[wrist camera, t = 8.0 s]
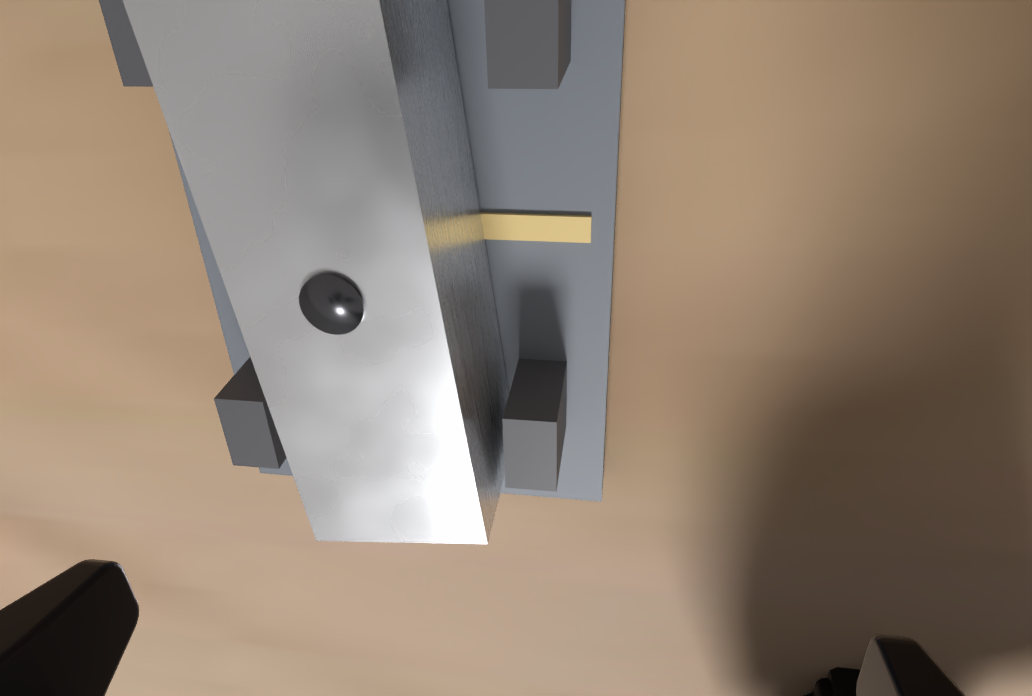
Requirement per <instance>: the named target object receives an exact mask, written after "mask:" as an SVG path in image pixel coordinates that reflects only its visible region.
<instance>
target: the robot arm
mask: <svg viewBox="0 0 1032 696" xmlns="http://www.w3.org/2000/svg"><path fill="white" fill-rule="evenodd" d="M138 617H139V605H138V602H137V599H136V597H135V595H134V593H133V590H132V588H131V586H130V583H129V581H128V579H127V577H126V574H125V572H124V570H123V568H122V566H121V565H120V564H118V563H117V562H114V561H105V560H95V559H89V560H84V561H81V562H80V563H78V564H76V565H74V566H73V567H71V568H69V569H68V570H66V571H64V572H63V573H61V574H59V575H58V576H56V577H54V578H53V579H51V580H49V581H48V582H46V583H44V584H43V585H41V586H39V587H38V588H36V589H34V590H33V591H31V592H29V593H28V594H26V595H24V596H23V597H21V598H19V599H18V600H16V601H14V602H13V603H11V604H9V605H8V606H6V607H5V608H3V609H1V610H0V696H105V694H106V691H107V689H108V687H109V685H110V682H111V680H112V678H113V676H114V674H115V671H116V669H117V667H118V665H119V662H120V660H121V658H122V656H123V654H124V651H125V649H126V647H127V645H128V642H129V640H130V638H131V636H132V634H133V631H134V629H135V627H136V624H137V621H138ZM805 696H965V695H964V693H963V692H962V691H961V690H960V689H959V688H958V687H957V686H956V684H955V683H954V682H953V681H952V680H951V679H950V678H949V677H948V675H947V674H946V673H945V672H944V671H943V670H942V669H941V668H940V666H939V665H938V664H937V663H936V662H935V661H934V660H933V659H932V657H931V656H930V655H929V654H928V653H927V652H926V651H925V650H924V648H923V647H922V646H921V645H920V644H919V643H918V642H916V641H915V640H913V639H911V638H908V637H900V636H889V635H875V636H873V637H872V638H871V640H870V641H869V644H868V647H867V650H866V654H865V657H864V660H863V664H862V667H861V670H858V669H849V668H840V667H837V668H835V669H832V670H830V672H829V675H828V678H822V679H819V680H818V681H817V682H816V684H815V688H814V690H813V692H812V693H810V694H807V695H805Z"/></svg>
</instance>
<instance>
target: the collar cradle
mask: <svg viewBox="0 0 1032 696" xmlns="http://www.w3.org/2000/svg"><path fill="white" fill-rule="evenodd" d="M99 2H100V6H101V9H102V13H103V16H104V20H105V23H106V27H107V30H108V34H109V37H110V41H111V44H112V47H113V51H114V54H115V58H116V61H117V65H118V68H119V72H120V75H121V79H122V82H123V85H124V86H151V87H153V84H152V81H151V78H150V76H149V73H148V70H147V67H146V64H145V62H144V59H143V56H142V53H141V51H140V48H139V45H138V42H137V39H136V37H135V34H134V31H133V28H132V25H131V23H130V20H129V17H128V14H127V11H126V9H125V6H124V3H123V0H99ZM447 3H448V9H449V16H450V22H451V28H452V35H453V41H454V47H455V54H456V60H457V67H458V73H459V79H460V86H461V92H462V98H463V105H464V111H465V117H466V124H467V130H468V136H469V143H470V149H471V156H472V162H473V168H474V175H475V181H476V187H477V194H478V200H479V206H480V213H481V219H482V225H483V232H484V238H485V245H486V251H487V257H488V264H489V270H490V276H491V283H492V289H493V295H494V302H495V308H496V314H497V321H498V327H499V334H500V340H501V346H502V353H503V359H504V365H505V372H506V378H507V384H508V391H509V396H508V400H507V403H506V407H505V411H504V414H503V418H502V422H503V446H504V469H505V475H504V479H503V483H502V487H501V491H500V493H506V494H518V495H530V496H542V497H554V498H566V499H578V500H590V501H602V488H603V472H604V451H605V430H606V408H607V387H608V366H609V344H610V323H611V302H612V280H613V259H614V238H615V216H616V195H617V173H618V152H619V131H620V109H621V88H622V67H623V45H624V24H625V3H626V0H447ZM169 132H170V131H169ZM170 136H171V134H170ZM171 139H172V137H171ZM172 143H173V147H174V151H175V154H176V158H177V162H178V166H179V169H180V173H181V177H182V181H183V185H184V188H185V192H186V196H187V200H188V203H189V207H190V211H191V215H192V218H193V222H194V226H195V230H196V233H197V237H198V241H199V245H200V248H201V252H202V256H203V260H204V263H205V267H206V271H207V275H208V278H209V282H210V286H211V290H212V293H213V297H214V301H215V305H216V308H217V312H218V316H219V320H220V323H221V327H222V331H223V335H224V338H225V342H226V346H227V350H228V353H229V357H230V361H231V365H232V368H233V372H234V376H233V377H232V378H231V380H230V381H229V382H228V383H227V384H226V385H225V387H224V388H223V389H222V390H221V391H220V392H219V394H218V395H217V396H216V397H215V398H214V400H215V404H216V407H217V411H218V414H219V418H220V421H221V424H222V428H223V431H224V435H225V438H226V442H227V445H228V449H229V452H230V456H231V459H232V462H233V465H238V466H250V467H259V470H260V473H267V474H279V475H291V476H293V474H292V471H291V469H290V466H289V463H288V460H287V457H286V455H285V452H284V449H283V446H282V443H281V441H280V438H279V435H278V432H277V429H276V427H275V424H274V421H273V418H272V416H271V413H270V410H269V407H268V404H267V402H266V399H265V396H264V393H263V390H262V388H261V385H260V382H259V379H258V377H257V374H256V371H255V368H254V365H253V363H252V360H251V357H250V354H249V351H248V349H247V346H246V343H245V340H244V338H243V335H242V332H241V329H240V326H239V324H238V321H237V318H236V315H235V312H234V310H233V307H232V304H231V301H230V299H229V296H228V293H227V290H226V287H225V285H224V282H223V279H222V276H221V273H220V271H219V268H218V265H217V262H216V260H215V257H214V254H213V251H212V248H211V246H210V243H209V240H208V237H207V234H206V232H205V229H204V226H203V223H202V220H201V218H200V215H199V212H198V209H197V207H196V204H195V201H194V198H193V195H192V193H191V190H190V187H189V184H188V181H187V179H186V176H185V173H184V170H183V168H182V165H181V162H180V159H179V156H178V154H177V151H176V148H175V145H174V142H173V140H172Z"/></svg>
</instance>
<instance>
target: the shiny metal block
mask: <svg viewBox="0 0 1032 696" xmlns="http://www.w3.org/2000/svg"><path fill="white" fill-rule="evenodd" d="M123 3H124V6H125V9H126V11H127V14H128V17H129V20H130V23H131V25H132V28H133V31H134V34H135V37H136V39H137V42H138V45H139V48H140V51H141V53H142V56H143V59H144V62H145V64H146V67H147V70H148V73H149V76H150V78H151V81H152V84H153V87H154V90H155V92H156V95H157V98H158V101H159V103H160V106H161V109H162V112H163V115H164V117H165V120H166V123H167V126H168V129H169V131H170V134H171V137H172V140H173V142H174V145H175V148H176V151H177V154H178V156H179V159H180V162H181V165H182V168H183V170H184V173H185V176H186V179H187V181H188V184H189V187H190V190H191V193H192V195H193V198H194V201H195V204H196V207H197V209H198V212H199V215H200V218H201V220H202V223H203V226H204V229H205V232H206V234H207V237H208V240H209V243H210V246H211V248H212V251H213V254H214V257H215V260H216V262H217V265H218V268H219V271H220V273H221V276H222V279H223V282H224V285H225V287H226V290H227V293H228V296H229V299H230V301H231V304H232V307H233V310H234V312H235V315H236V318H237V321H238V324H239V326H240V329H241V332H242V335H243V338H244V340H245V343H246V346H247V349H248V351H249V354H250V357H251V360H252V363H253V365H254V368H255V371H256V374H257V377H258V379H259V382H260V385H261V388H262V390H263V393H264V396H265V399H266V402H267V404H268V407H269V410H270V413H271V416H272V418H273V421H274V424H275V427H276V429H277V432H278V435H279V438H280V441H281V443H282V446H283V449H284V452H285V455H286V457H287V460H288V463H289V466H290V469H291V471H292V474H293V477H294V480H295V482H296V485H297V488H298V491H299V494H300V496H301V499H302V502H303V505H304V508H305V510H306V513H307V516H308V519H309V521H310V524H311V527H312V530H313V533H314V535H315V538H316V541H352V542H403V543H453V544H488V540H489V536H490V532H491V528H492V524H493V520H494V516H495V511H496V507H497V503H498V499H499V495H500V491H501V487H502V483H503V479H504V475H505V469H504V446H503V422H502V418H503V414H504V411H505V407H506V403H507V400H508V396H509V391H508V384H507V378H506V372H505V365H504V359H503V353H502V346H501V340H500V334H499V327H498V321H497V314H496V308H495V302H494V295H493V289H492V283H491V276H490V270H489V264H488V257H487V251H486V245H485V238H484V232H483V225H482V219H481V213H480V206H479V200H478V194H477V187H476V181H475V175H474V168H473V162H472V156H471V149H470V143H469V136H468V130H467V124H466V117H465V111H464V105H463V98H462V92H461V86H460V79H459V73H458V67H457V60H456V54H455V47H454V41H453V35H452V28H451V22H450V16H449V9H448V3H447V0H123Z"/></svg>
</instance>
